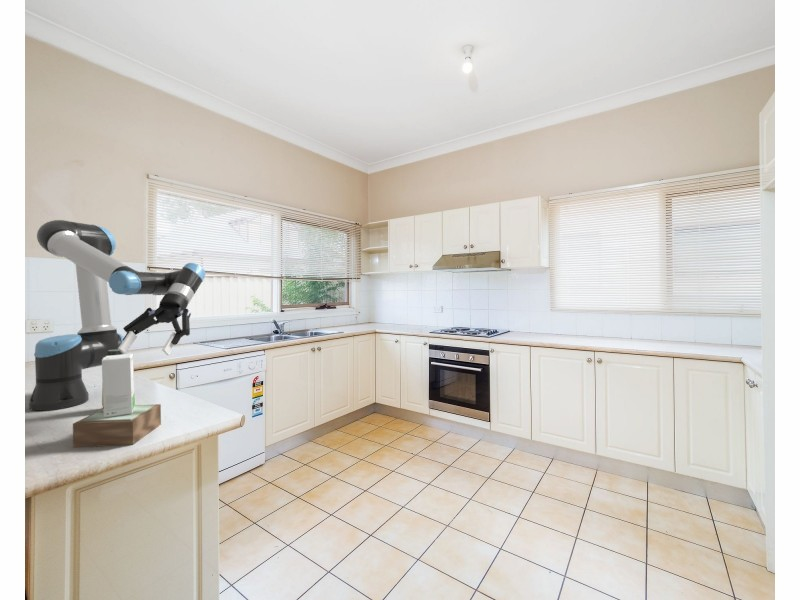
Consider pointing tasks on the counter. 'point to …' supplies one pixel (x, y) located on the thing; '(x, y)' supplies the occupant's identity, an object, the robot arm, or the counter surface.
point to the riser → (116, 427)
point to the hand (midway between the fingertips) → (143, 352)
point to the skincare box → (118, 385)
